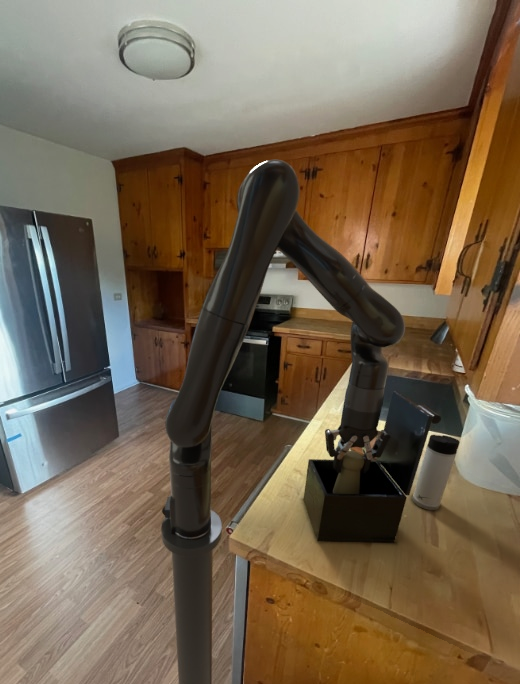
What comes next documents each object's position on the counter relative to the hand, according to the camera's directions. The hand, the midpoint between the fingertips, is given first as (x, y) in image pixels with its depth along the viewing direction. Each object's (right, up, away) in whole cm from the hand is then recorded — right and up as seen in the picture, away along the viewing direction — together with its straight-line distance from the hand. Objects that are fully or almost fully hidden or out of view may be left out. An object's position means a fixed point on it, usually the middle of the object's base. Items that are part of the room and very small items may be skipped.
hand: (349, 470), depth 77 cm
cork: (0, -6, +2) cm, 7 cm away
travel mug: (+25, -11, +12) cm, 30 cm away
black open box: (+1, -13, +5) cm, 14 cm away
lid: (+10, +7, -3) cm, 13 cm away
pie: (+20, -2, +35) cm, 40 cm away
